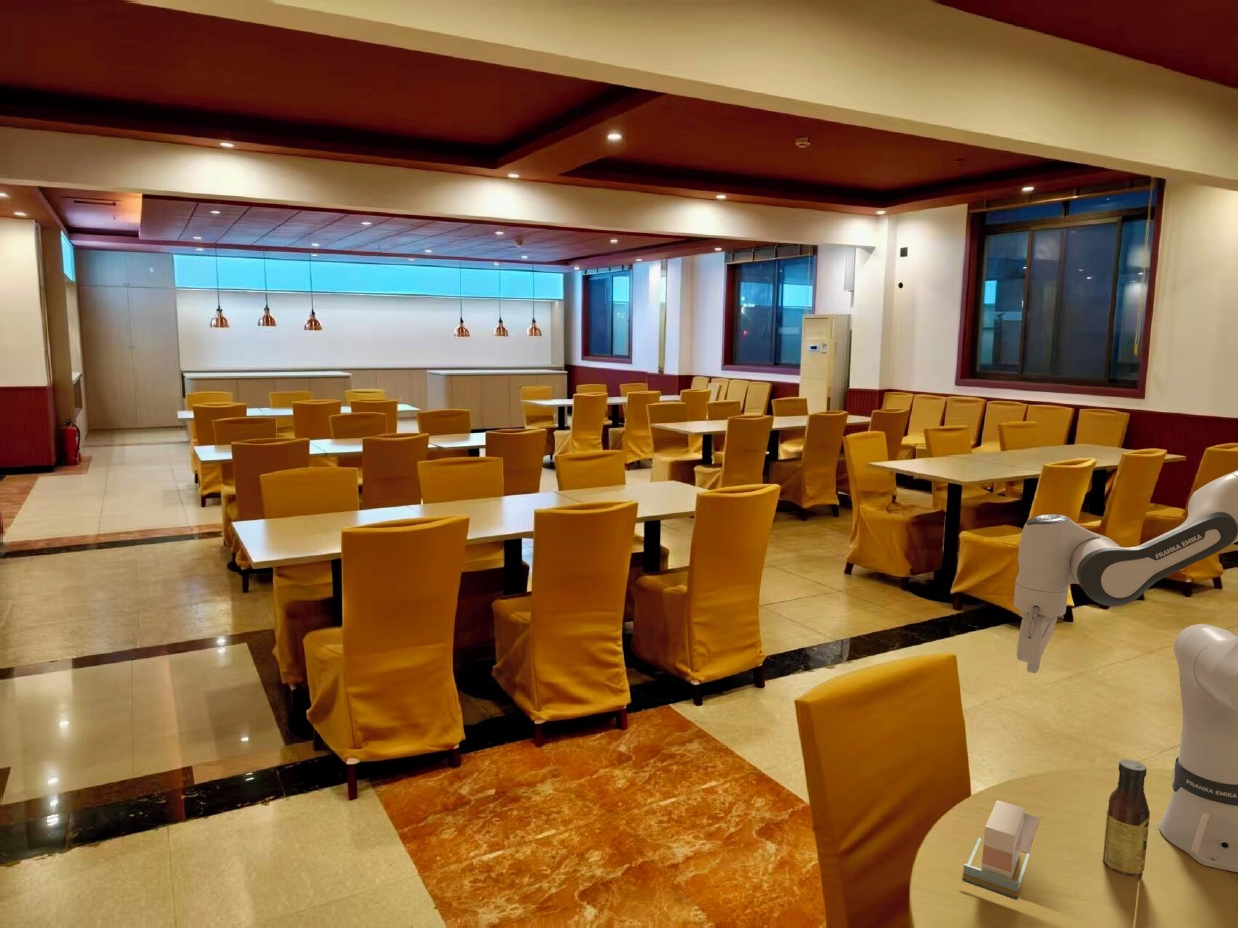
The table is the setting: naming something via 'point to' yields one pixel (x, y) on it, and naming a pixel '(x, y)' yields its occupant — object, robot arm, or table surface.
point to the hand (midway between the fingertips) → (1033, 670)
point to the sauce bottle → (1127, 822)
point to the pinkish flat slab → (1028, 832)
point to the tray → (993, 876)
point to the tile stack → (1003, 839)
